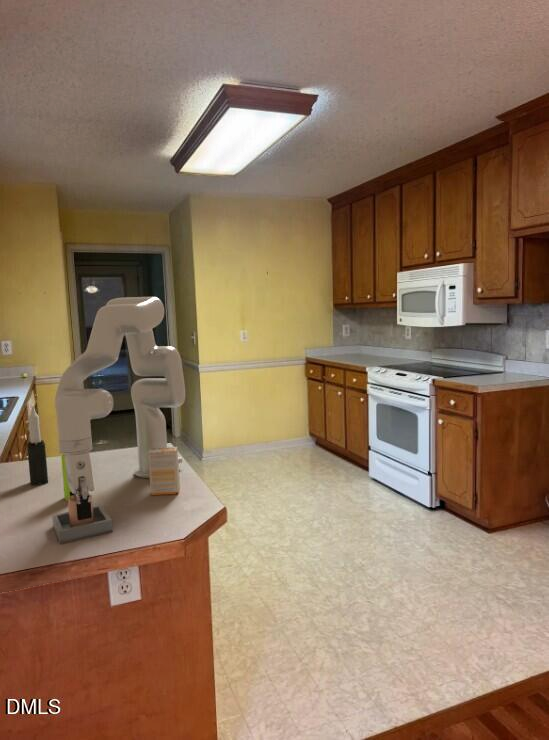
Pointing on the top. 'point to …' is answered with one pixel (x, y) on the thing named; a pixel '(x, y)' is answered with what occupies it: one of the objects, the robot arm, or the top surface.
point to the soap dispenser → (65, 478)
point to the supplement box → (164, 470)
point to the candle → (36, 452)
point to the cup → (73, 512)
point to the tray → (81, 526)
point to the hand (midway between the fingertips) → (81, 512)
